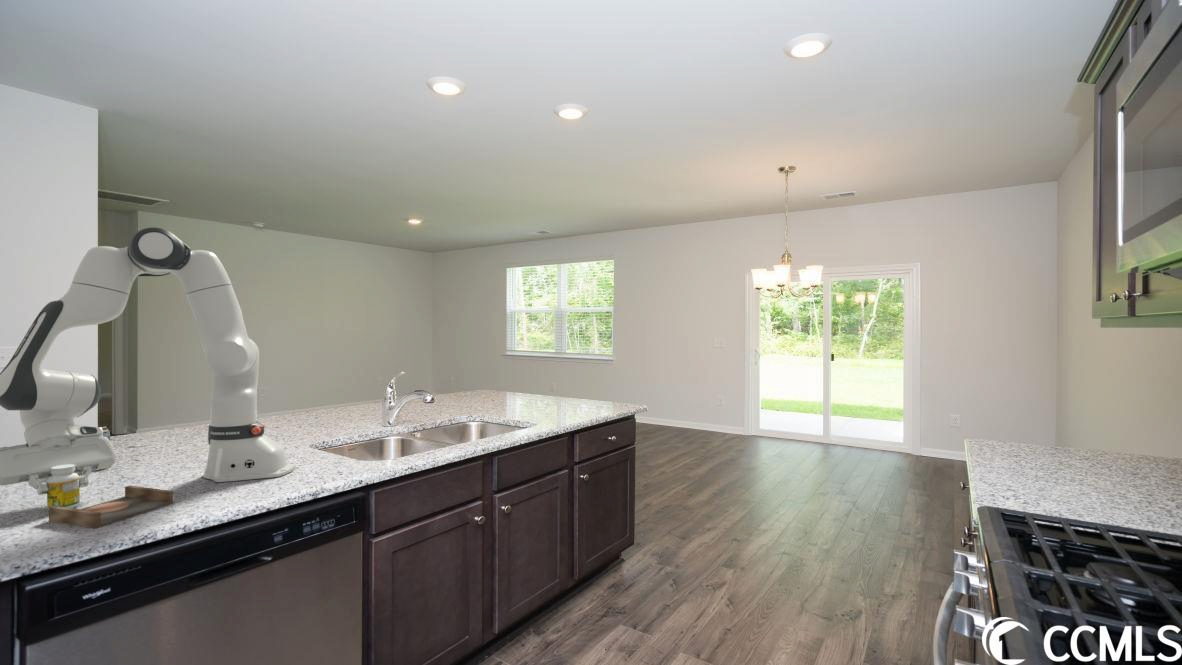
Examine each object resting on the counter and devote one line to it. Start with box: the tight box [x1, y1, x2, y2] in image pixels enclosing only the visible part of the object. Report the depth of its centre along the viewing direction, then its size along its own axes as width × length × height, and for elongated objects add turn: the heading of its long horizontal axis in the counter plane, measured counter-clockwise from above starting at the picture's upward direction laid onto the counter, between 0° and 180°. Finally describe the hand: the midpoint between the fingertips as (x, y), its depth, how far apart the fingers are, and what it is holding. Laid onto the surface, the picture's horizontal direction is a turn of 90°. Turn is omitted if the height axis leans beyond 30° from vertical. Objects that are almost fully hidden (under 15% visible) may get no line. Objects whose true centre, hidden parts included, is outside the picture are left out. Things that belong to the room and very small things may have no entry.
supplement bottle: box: [46, 464, 81, 511], centre depth 124 cm, size 5×5×10 cm
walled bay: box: [48, 485, 174, 529], centre depth 122 cm, size 14×16×3 cm
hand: (64, 489), depth 124 cm, fingers open, 5 cm apart
